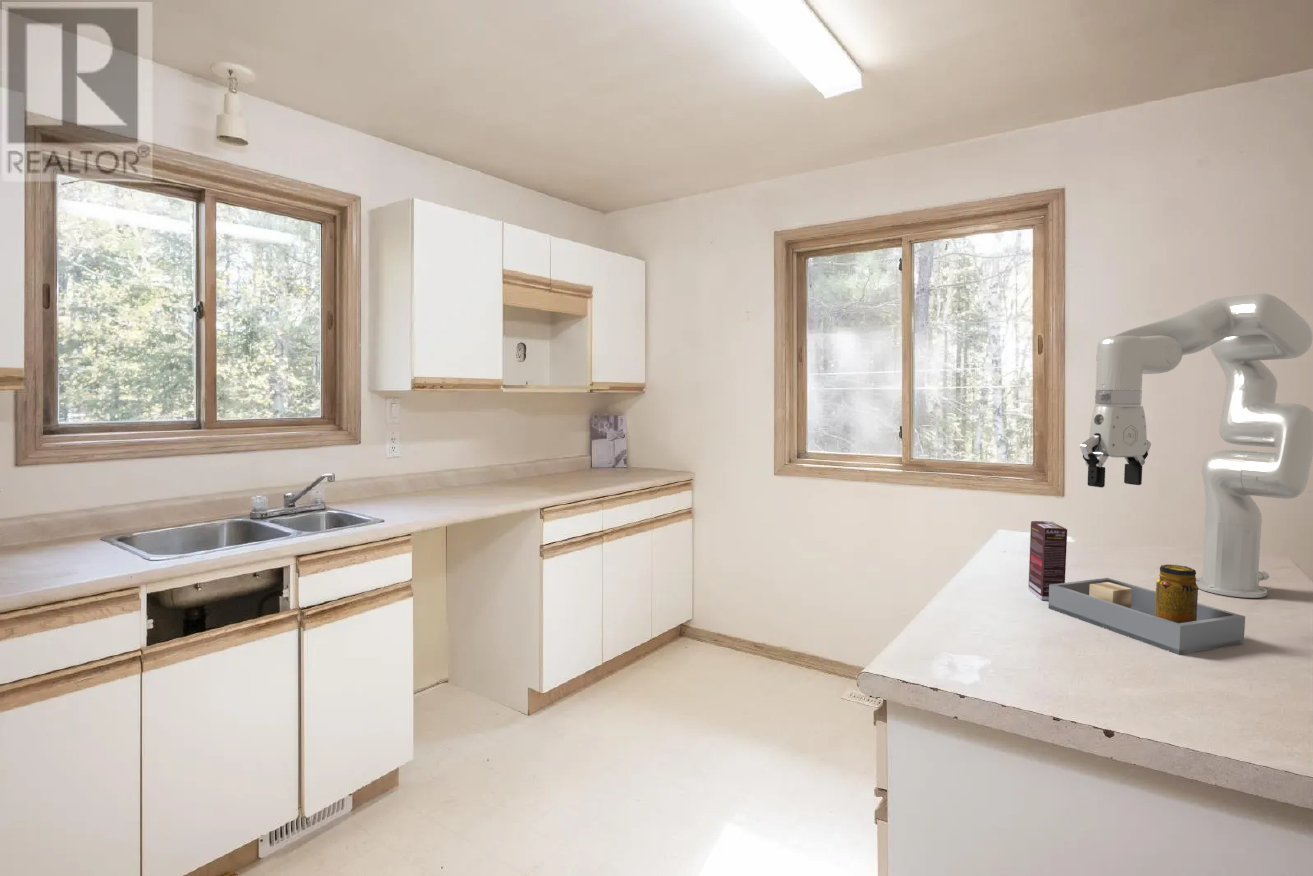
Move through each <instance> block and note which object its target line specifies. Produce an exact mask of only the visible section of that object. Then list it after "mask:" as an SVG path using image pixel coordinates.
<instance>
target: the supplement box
mask: <svg viewBox="0 0 1313 876" xmlns="http://www.w3.org/2000/svg"><path fill="white" fill-rule="evenodd" d="M1029 537H1030V539H1029V540H1030V542H1029V563H1028V564H1029V566H1028V567H1029V568H1028V569H1029V570H1028V590H1029V591H1030V592H1031V593H1032V594H1034V595H1035V596H1036V597H1037V598H1039V599H1040V600H1042V601H1048V602H1049V585H1050V584H1059V583H1066V569H1067V567H1066V566H1067V545H1068V529H1067V528H1066V527H1064V526H1061V525H1059V524H1058V523H1055V522H1054V521H1043V520H1042V521H1041V520H1039V521H1038V520H1033V521H1030V536H1029Z"/></svg>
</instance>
